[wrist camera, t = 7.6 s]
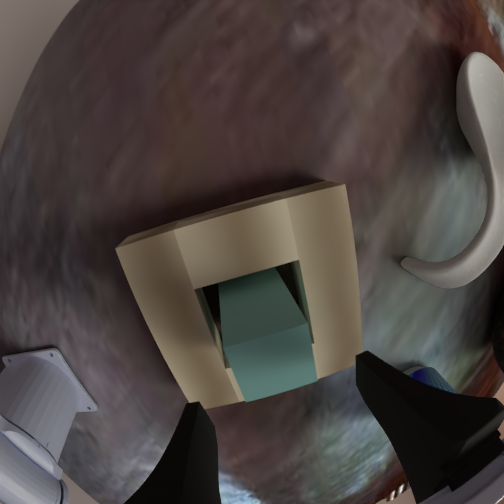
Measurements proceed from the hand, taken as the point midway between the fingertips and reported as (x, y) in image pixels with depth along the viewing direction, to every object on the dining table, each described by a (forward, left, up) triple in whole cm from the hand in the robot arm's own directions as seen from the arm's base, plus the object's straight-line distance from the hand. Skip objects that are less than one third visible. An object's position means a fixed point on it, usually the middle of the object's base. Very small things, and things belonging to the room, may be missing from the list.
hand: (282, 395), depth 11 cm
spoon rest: (+22, +6, -10) cm, 25 cm away
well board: (0, 0, -10) cm, 10 cm away
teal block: (0, 0, -10) cm, 10 cm away
